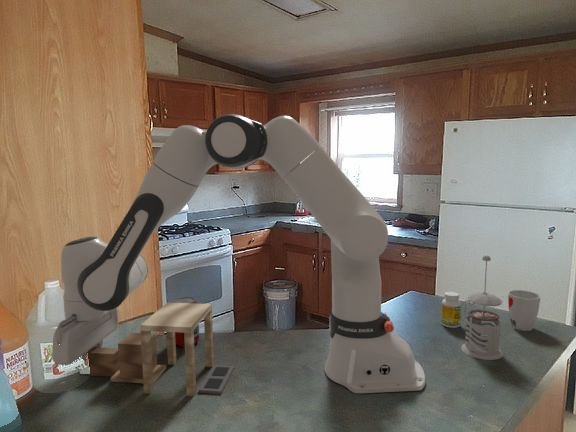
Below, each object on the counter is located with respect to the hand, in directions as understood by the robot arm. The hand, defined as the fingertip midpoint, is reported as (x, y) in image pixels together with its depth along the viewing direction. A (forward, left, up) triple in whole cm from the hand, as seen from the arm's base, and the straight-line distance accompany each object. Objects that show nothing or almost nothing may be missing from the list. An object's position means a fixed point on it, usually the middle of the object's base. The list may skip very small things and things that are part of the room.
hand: (90, 364), depth 97 cm
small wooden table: (-22, 0, -2) cm, 22 cm away
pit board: (-31, 0, -2) cm, 31 cm away
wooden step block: (-7, 0, -2) cm, 8 cm away
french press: (-94, -22, -2) cm, 96 cm away
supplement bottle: (-91, -38, -2) cm, 98 cm away
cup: (-111, -38, -2) cm, 117 cm away
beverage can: (-17, -18, -2) cm, 25 cm away
